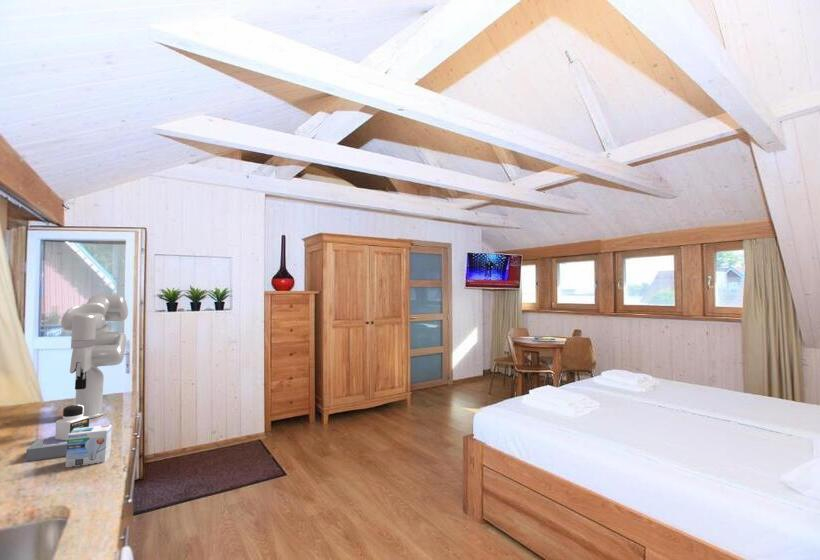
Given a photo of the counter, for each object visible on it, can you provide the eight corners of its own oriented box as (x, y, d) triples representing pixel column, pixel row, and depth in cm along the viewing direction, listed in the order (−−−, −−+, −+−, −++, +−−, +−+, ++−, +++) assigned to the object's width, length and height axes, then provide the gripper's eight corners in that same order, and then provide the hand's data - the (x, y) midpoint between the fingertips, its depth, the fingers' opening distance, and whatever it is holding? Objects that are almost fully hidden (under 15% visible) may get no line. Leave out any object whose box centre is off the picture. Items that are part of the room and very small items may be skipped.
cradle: (37, 450, 136) (37, 439, 136) (87, 444, 142) (88, 433, 142) (25, 461, 127) (26, 449, 127) (80, 454, 134) (80, 442, 134)
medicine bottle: (69, 441, 144) (71, 409, 145) (54, 439, 146) (56, 407, 146) (88, 434, 151) (90, 404, 152) (74, 432, 153) (76, 402, 153)
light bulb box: (64, 468, 123) (66, 434, 123) (71, 460, 129) (73, 428, 129) (106, 462, 128) (107, 430, 128) (110, 454, 134) (112, 423, 134)
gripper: (76, 342, 162) (74, 385, 161) (65, 346, 149) (62, 394, 148) (98, 341, 166) (96, 384, 165) (90, 346, 153) (87, 392, 152)
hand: (80, 388), depth 157 cm, fingers closed
